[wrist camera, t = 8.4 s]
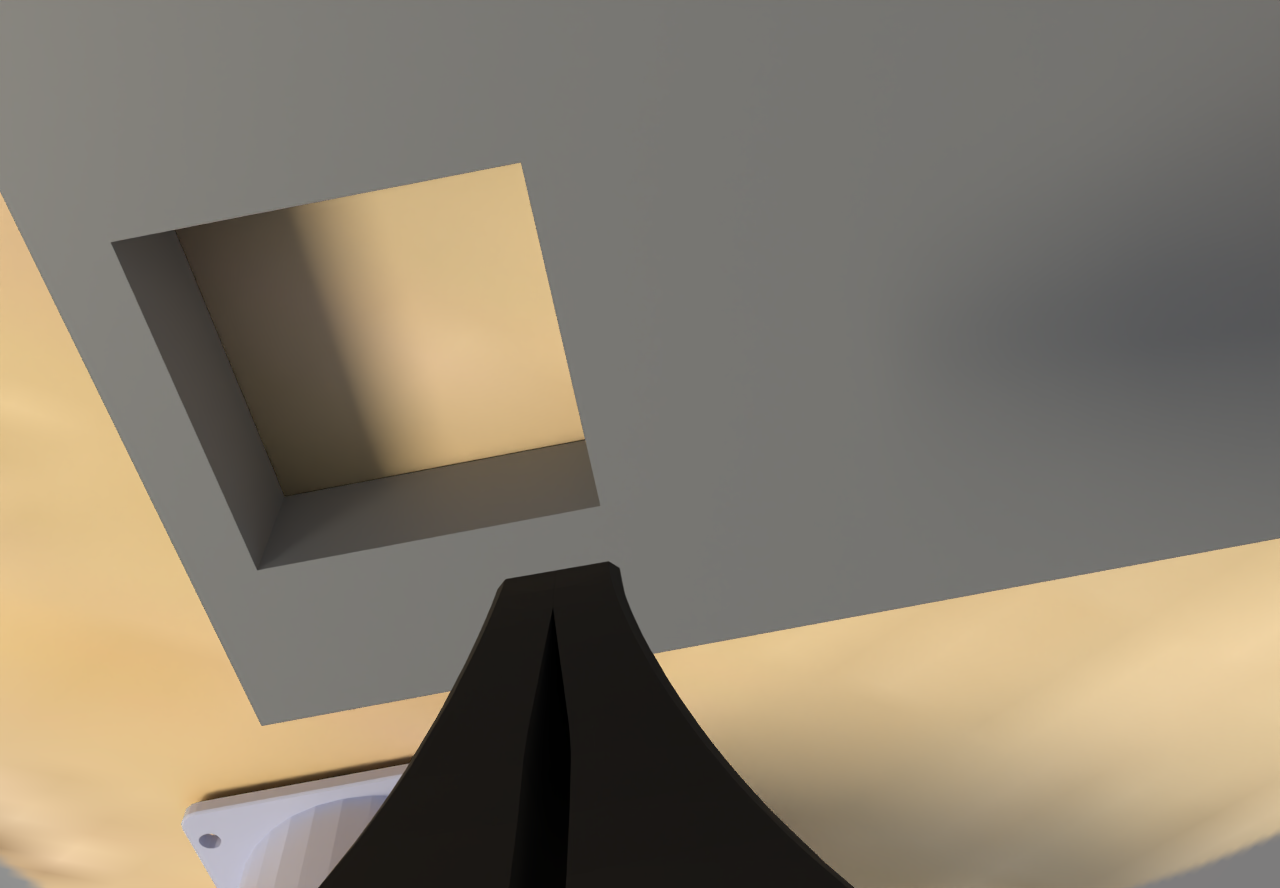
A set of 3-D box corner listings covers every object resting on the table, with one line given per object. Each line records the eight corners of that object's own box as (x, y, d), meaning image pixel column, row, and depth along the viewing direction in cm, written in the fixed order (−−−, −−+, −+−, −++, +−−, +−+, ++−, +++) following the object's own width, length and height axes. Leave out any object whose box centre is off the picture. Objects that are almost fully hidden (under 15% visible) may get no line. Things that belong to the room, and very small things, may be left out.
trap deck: (1631, 394, 24) (1817, 494, 20) (286, 644, 24) (244, 783, 21) (2111, -1008, 13) (2650, -1287, 10) (-233, -513, 14) (-484, -616, 11)
